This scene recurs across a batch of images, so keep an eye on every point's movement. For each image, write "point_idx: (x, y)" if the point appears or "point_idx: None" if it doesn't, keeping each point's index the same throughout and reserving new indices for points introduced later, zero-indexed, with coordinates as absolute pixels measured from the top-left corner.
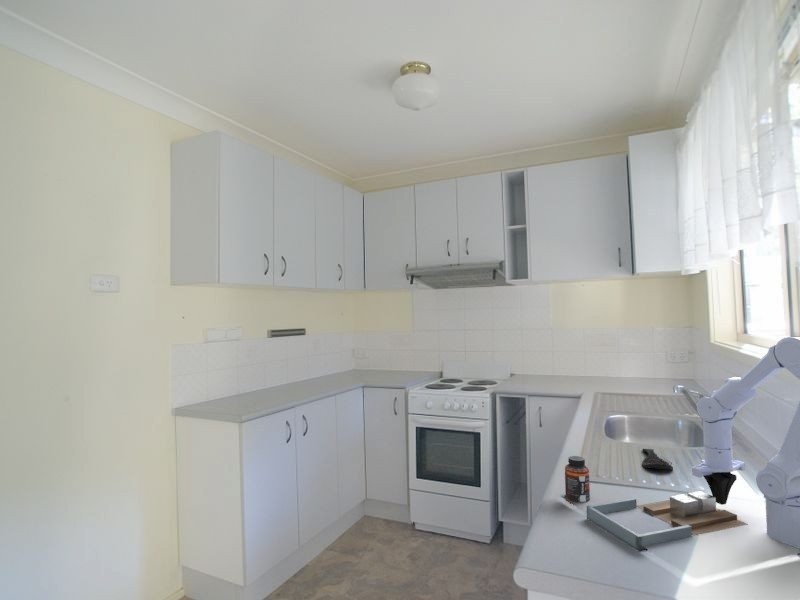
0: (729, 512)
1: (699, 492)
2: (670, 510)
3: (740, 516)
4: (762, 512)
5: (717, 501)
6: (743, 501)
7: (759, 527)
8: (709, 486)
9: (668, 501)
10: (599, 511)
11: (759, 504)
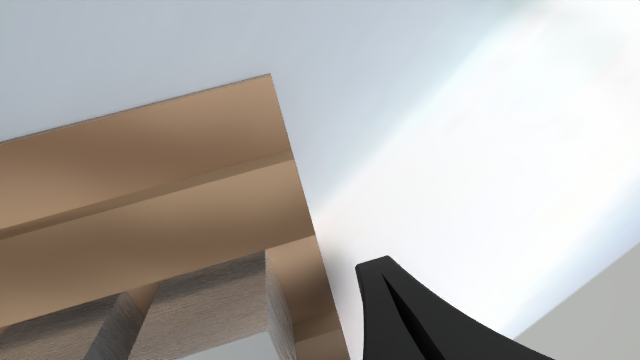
0: (340, 352)
1: (241, 354)
2: (2, 337)
3: (416, 273)
4: (541, 237)
5: (360, 290)
6: (596, 113)
7: None
8: (363, 350)
9: (28, 232)
10: None
11: (622, 156)
